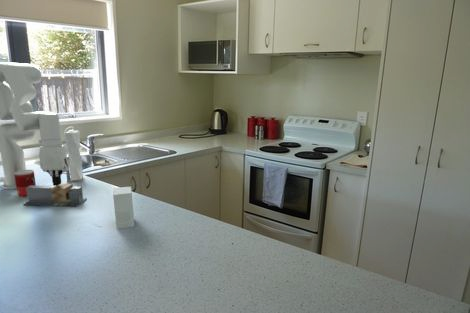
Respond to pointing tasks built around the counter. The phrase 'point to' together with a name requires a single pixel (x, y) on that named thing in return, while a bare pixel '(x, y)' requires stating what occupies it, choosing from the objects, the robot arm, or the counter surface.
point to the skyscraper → (73, 155)
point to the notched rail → (44, 197)
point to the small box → (123, 207)
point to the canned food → (24, 181)
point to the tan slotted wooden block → (60, 192)
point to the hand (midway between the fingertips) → (57, 184)
